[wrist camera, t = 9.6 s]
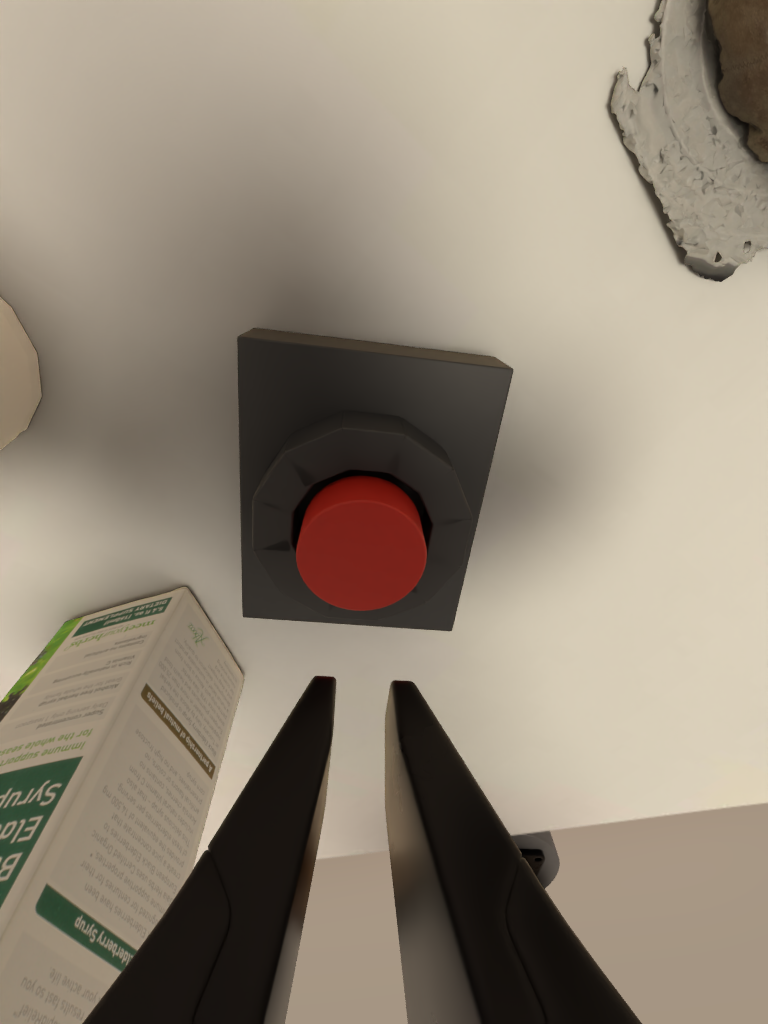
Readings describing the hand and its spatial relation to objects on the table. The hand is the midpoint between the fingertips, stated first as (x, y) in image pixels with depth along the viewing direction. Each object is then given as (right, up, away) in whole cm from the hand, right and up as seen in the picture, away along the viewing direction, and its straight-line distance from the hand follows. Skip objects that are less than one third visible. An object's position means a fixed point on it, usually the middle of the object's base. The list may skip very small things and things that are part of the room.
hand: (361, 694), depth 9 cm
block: (0, +4, +9) cm, 10 cm away
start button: (0, +3, +6) cm, 6 cm away
